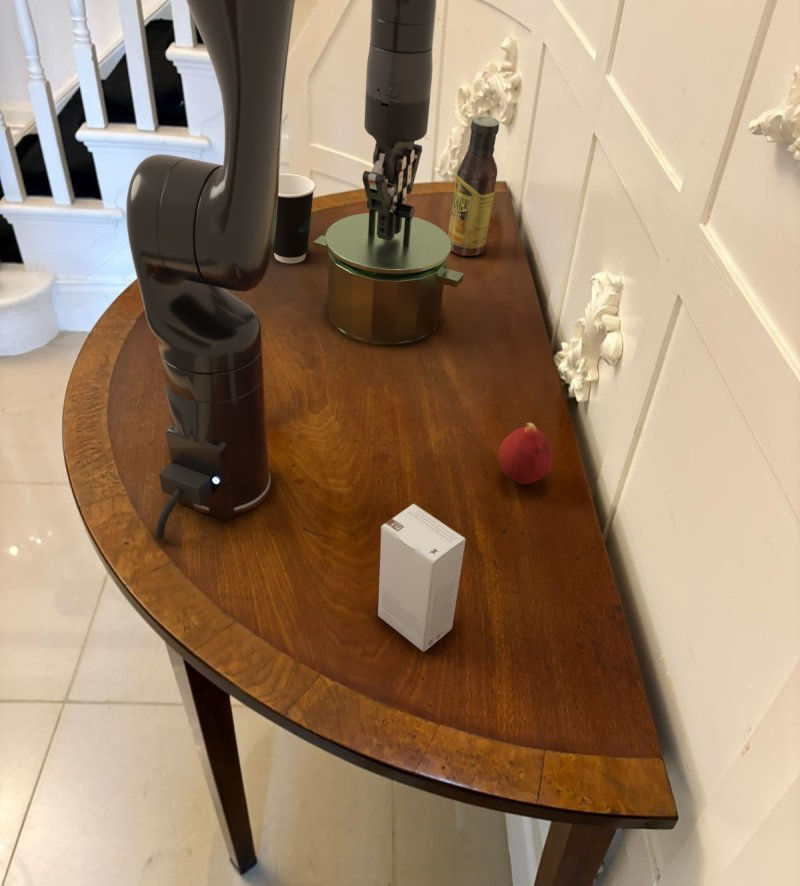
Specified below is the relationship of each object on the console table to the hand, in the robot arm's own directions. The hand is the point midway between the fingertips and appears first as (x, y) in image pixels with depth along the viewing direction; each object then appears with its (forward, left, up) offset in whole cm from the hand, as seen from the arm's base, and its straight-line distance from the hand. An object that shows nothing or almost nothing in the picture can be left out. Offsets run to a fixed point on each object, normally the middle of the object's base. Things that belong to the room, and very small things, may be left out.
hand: (388, 234), depth 103 cm
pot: (0, 0, -12) cm, 12 cm away
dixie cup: (+9, +20, -12) cm, 25 cm away
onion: (-25, -28, -12) cm, 39 cm away
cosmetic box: (-49, -25, -12) cm, 56 cm away
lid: (0, 0, -1) cm, 1 cm away
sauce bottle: (+26, -3, -12) cm, 29 cm away
